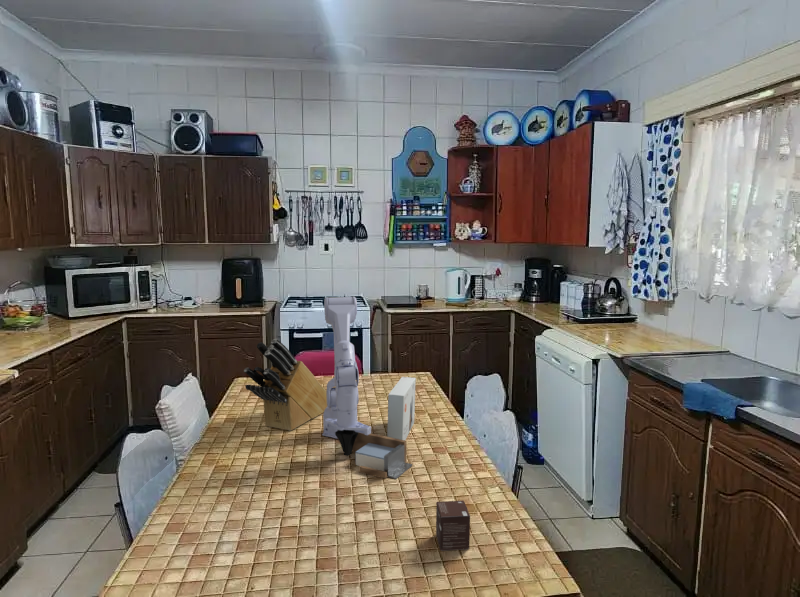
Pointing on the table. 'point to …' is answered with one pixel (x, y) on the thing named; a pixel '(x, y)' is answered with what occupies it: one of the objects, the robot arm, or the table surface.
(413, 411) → the skincare box
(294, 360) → the knife block
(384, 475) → the shelf
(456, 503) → the box
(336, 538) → the table surface
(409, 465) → the bookend
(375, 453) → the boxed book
